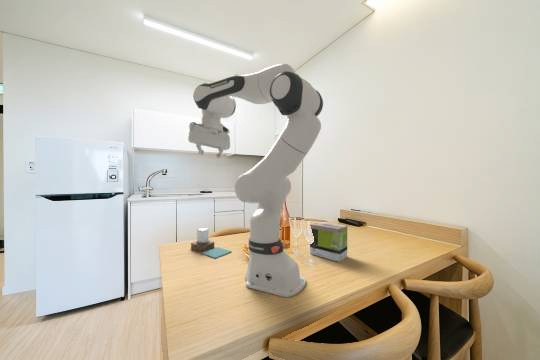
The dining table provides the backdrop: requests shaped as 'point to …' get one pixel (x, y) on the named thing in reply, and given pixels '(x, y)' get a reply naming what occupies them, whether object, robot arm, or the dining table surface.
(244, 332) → the dining table surface
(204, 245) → the socket block
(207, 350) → the dining table surface
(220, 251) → the rubber mat
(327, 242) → the tea box
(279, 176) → the robot arm
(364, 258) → the dining table surface
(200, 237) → the steel peg
